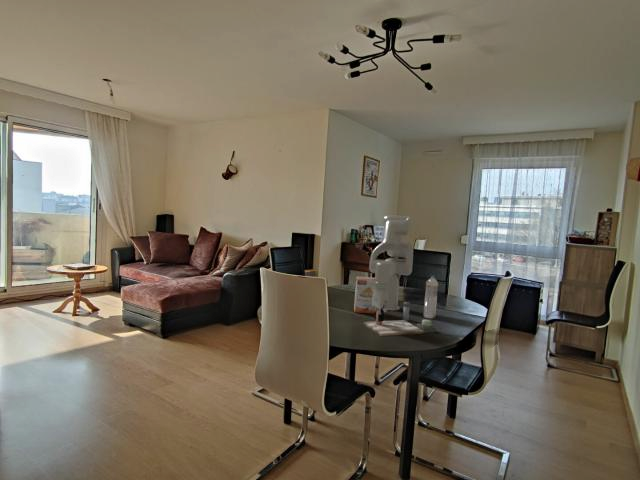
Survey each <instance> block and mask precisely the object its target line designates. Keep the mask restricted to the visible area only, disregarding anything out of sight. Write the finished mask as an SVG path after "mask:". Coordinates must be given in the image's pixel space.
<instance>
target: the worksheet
mask: <svg viewBox="0 0 640 480" xmlns="http://www.w3.org/2000/svg"><path fill="white" fill-rule="evenodd" d="M363 325H365V326H366V327H367V328H368V329H370V330H371V329H372V330H371V331H372V332H374V331H375V333H376V334H377V335H379V336H380V337H385V336H387V337H388V336H402V335H417V334H418V335H420V334H425V332H424V331H423V330H421V329H419V328H417V325H413V324H412V323H410V322H408V321H405V320H403V319H401V320H384V321H383V322H382V324H376V321H364V322H363Z"/></svg>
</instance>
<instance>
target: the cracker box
mask: <svg viewBox="0 0 640 480" xmlns="http://www.w3.org/2000/svg"><path fill="white" fill-rule="evenodd" d="M374 285H375V277H369V276H356V279H355V293H354V302H353V303H354V305H353V311H354V313H359V314H374V315H375V307H374V306H373V305H372V296H373V290H374Z"/></svg>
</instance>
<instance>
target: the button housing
mask: <svg viewBox="0 0 640 480" xmlns="http://www.w3.org/2000/svg"><path fill="white" fill-rule="evenodd" d="M416 327H417V328H419V329H421V330H423V331H424V332H425V333H427V334H428V333H436V332H437V327H436V326H434V325H432V324H431V327H424V326H422V322H420V323H416ZM425 333H424V334H425Z"/></svg>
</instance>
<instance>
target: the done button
mask: <svg viewBox="0 0 640 480" xmlns="http://www.w3.org/2000/svg"><path fill="white" fill-rule="evenodd" d="M421 323H422V326H424V327H431V325H432V320H431V319H427V318H426V319H422V320H421Z"/></svg>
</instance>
